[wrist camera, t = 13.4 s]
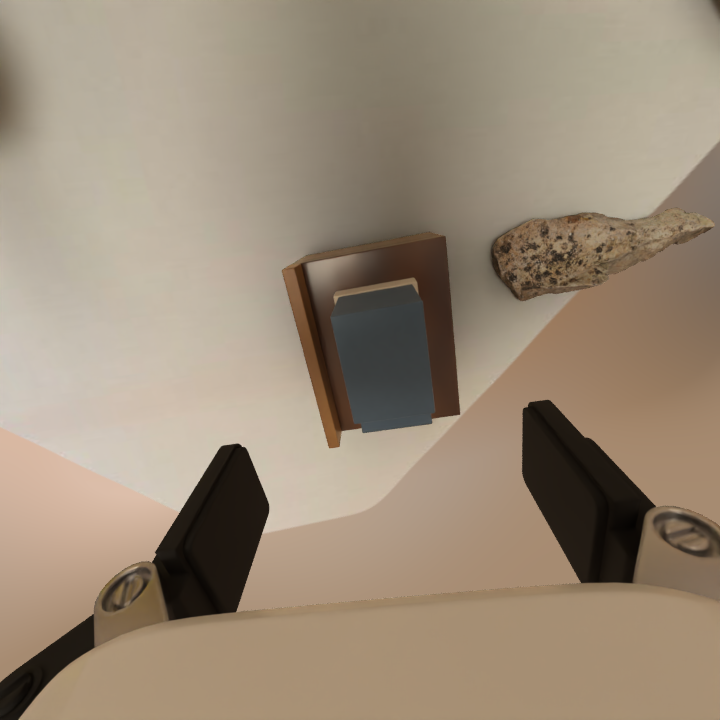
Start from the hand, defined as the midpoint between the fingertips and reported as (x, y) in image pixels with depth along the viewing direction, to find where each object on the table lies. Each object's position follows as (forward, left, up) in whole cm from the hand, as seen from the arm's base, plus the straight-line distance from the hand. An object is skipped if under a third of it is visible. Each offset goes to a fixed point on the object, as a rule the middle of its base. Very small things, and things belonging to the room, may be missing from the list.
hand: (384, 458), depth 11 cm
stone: (-17, -1, -15) cm, 23 cm away
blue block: (0, +1, -13) cm, 13 cm away
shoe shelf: (0, +1, -19) cm, 19 cm away
